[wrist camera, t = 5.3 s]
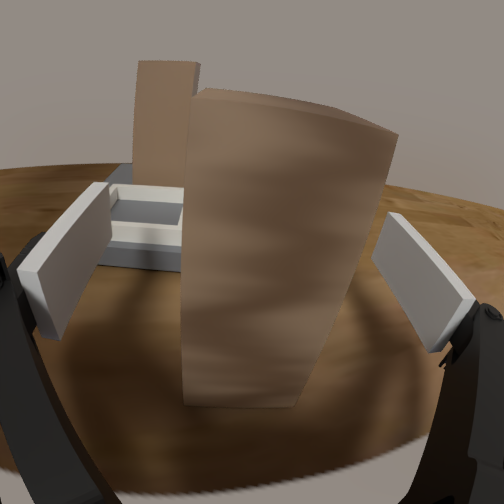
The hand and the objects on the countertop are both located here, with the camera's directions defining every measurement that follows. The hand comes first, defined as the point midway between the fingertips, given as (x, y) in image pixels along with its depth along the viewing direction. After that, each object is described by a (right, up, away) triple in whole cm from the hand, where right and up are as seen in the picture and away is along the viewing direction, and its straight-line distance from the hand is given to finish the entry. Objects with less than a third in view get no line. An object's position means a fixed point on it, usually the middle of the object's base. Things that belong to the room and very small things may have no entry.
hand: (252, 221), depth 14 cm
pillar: (-1, -7, +1) cm, 7 cm away
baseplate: (-9, +2, +14) cm, 17 cm away
